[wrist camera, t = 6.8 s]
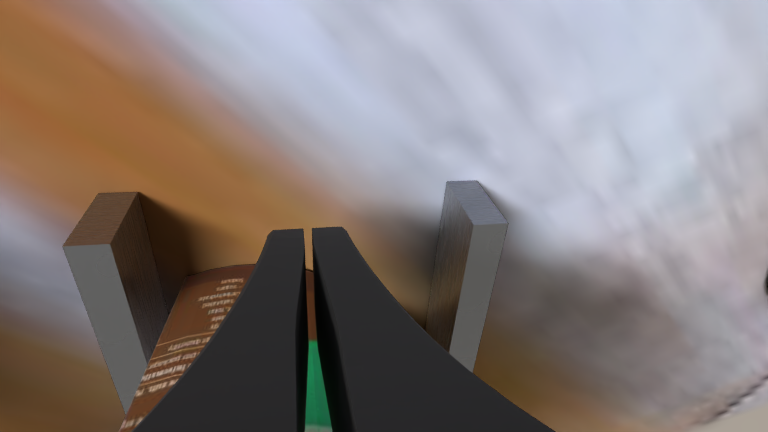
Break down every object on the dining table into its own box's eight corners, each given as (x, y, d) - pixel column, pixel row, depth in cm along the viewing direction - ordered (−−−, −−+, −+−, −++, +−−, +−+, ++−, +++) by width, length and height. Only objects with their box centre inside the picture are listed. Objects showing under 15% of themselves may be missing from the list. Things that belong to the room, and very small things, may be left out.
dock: (144, 506, 21) (109, 651, 17) (16, 196, 12) (-119, 335, 8) (461, 458, 24) (500, 573, 19) (534, 178, 15) (629, 276, 11)
